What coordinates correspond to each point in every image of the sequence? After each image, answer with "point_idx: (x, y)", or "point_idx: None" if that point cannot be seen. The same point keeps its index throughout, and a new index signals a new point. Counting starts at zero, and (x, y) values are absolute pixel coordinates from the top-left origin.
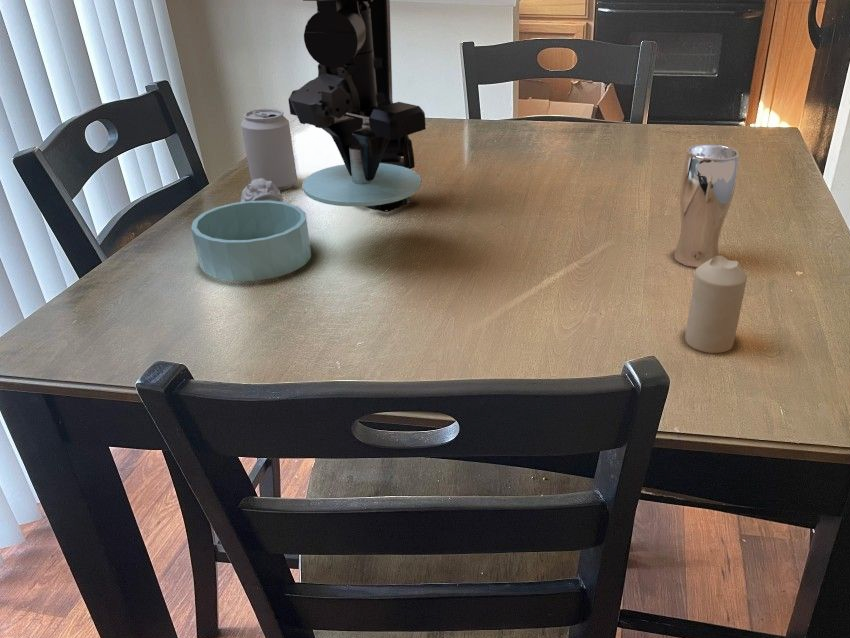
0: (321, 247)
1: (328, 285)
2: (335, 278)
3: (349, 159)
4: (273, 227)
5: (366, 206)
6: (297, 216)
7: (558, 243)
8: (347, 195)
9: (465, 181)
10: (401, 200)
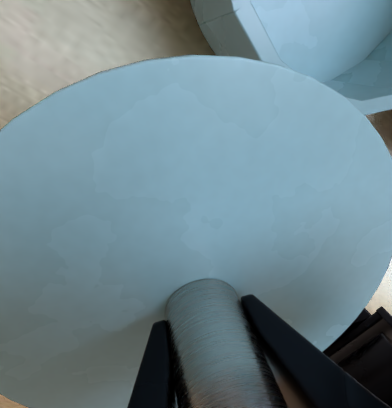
0: None
1: (67, 8)
2: (98, 52)
3: (275, 359)
4: (385, 61)
5: None
6: None
7: (18, 404)
8: (79, 201)
9: None
10: None
